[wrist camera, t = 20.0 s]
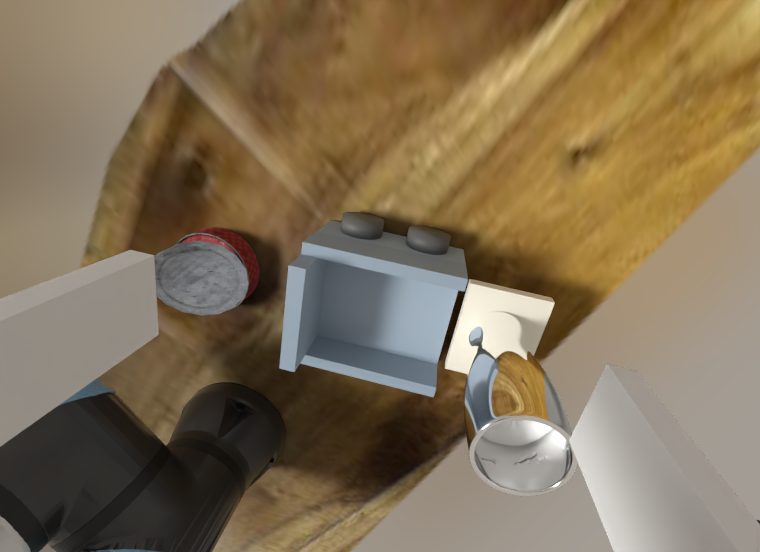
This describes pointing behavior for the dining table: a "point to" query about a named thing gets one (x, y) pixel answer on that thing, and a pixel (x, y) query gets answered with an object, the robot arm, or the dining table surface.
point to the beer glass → (513, 412)
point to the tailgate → (497, 299)
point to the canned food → (206, 272)
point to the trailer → (372, 302)
